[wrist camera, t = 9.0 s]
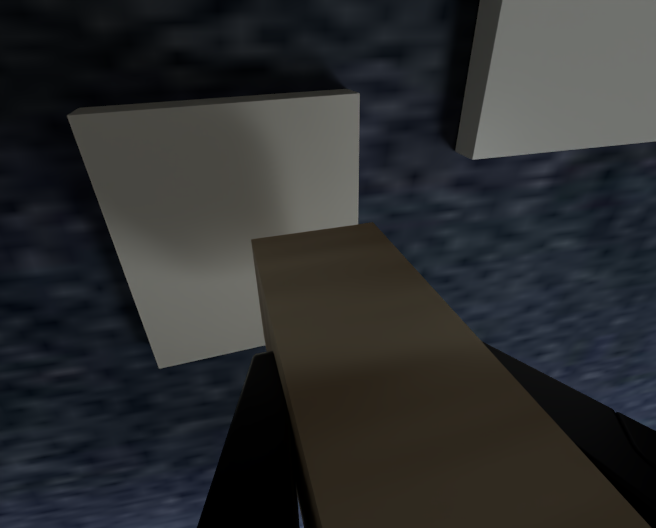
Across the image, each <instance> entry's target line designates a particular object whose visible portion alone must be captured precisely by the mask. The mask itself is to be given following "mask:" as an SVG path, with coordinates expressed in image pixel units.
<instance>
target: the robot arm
mask: <svg viewBox="0 0 656 528" xmlns="http://www.w3.org/2000/svg"><path fill="white" fill-rule="evenodd" d="M482 343H483V344H484V345H485V346H486V347H487V348H488V349H489V350H490V351H491V352H492V354H493V355H494V356H495V357H496V358H497V359H498V360H499V361H500V362H501V363H502V365H503V366H504V367H505V368H506V369H507V370H508V371H509V372H510V373H511V374H512V375H513V377H514V378H515V379H516V380H517V381H518V382H519V383H520V384H521V385H522V386H523V388H524V389H525V390H526V391H527V392H528V393H529V394H530V395H531V396H532V397H533V398H534V400H535V401H536V402H537V403H538V404H539V405H540V406H541V407H542V408H543V409H544V411H545V412H546V413H547V414H548V415H549V416H550V417H551V418H552V419H553V420H554V421H555V423H556V424H557V425H558V426H559V427H560V428H561V429H562V430H563V431H564V432H565V434H566V435H567V436H568V437H569V438H570V439H571V440H572V441H573V442H574V443H575V445H576V446H577V447H578V448H579V449H580V450H581V451H582V452H583V453H584V454H585V455H586V457H587V458H588V459H589V460H590V461H591V462H592V463H593V464H594V465H595V466H596V468H597V469H598V470H599V471H600V472H601V473H602V474H603V475H604V476H605V477H606V478H607V480H608V481H609V482H610V483H611V484H612V485H613V486H614V487H615V488H616V489H617V491H618V492H619V493H620V494H621V495H622V496H623V497H624V498H625V499H626V500H627V501H628V503H629V504H630V505H631V506H632V507H633V508H634V509H635V510H636V511H637V512H638V514H639V515H640V516H641V517H642V518H643V519H644V520H645V521H646V522H647V523H648V524H649V526H650V527H651V528H656V431H655V430H653V429H651V428H649V427H647V426H645V425H643V424H641V423H639V422H637V421H635V420H633V419H631V418H629V417H627V416H625V415H623V414H621V413H619V412H616V413H615V411H614V410H613V409H611V408H609V407H608V406H606V405H604V404H602V403H600V402H598V401H596V400H594V399H592V398H590V397H588V396H586V395H584V394H582V393H580V392H579V391H577V390H575V389H573V388H571V387H569V386H567V385H565V384H563V383H561V382H559V381H557V380H555V379H553V378H552V377H550V376H548V375H546V374H544V373H542V372H540V371H538V370H536V369H534V368H532V367H530V366H528V365H526V364H524V363H523V362H521V361H519V360H517V359H515V358H513V357H511V356H509V355H507V354H505V353H503V352H501V351H499V350H497V349H495V348H494V347H492V346H490V345H488V344H486V343H484V342H482ZM197 528H300V527H299V514H298V501H297V488H296V477H295V467H294V457H293V447H292V438H291V428H290V418H289V412H288V407H287V403H286V399H285V395H284V391H283V387H282V383H281V380H280V376H279V372H278V368H277V364H276V360H275V356H274V353H273V351H268V352H263V353H258V354H255V355H254V356H253V358H252V361H251V364H250V367H249V370H248V373H247V376H246V380H245V383H244V386H243V389H242V392H241V395H240V398H239V401H238V404H237V407H236V410H235V413H234V416H233V419H232V422H231V425H230V428H229V431H228V434H227V437H226V441H225V444H224V447H223V450H222V453H221V456H220V459H219V462H218V465H217V468H216V471H215V474H214V477H213V480H212V483H211V486H210V489H209V492H208V495H207V498H206V502H205V505H204V508H203V511H202V514H201V517H200V520H199V523H198V526H197Z"/></svg>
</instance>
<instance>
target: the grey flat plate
mask: <svg viewBox="0 0 656 528" xmlns="http://www.w3.org/2000/svg"><path fill="white" fill-rule="evenodd" d="M653 141H656V0H480V3H479V9H478V15H477V21H476V27H475V33H474V39H473V46H472V52H471V58H470V64H469V70H468V76H467V82H466V88H465V94H464V100H463V106H462V113H461V119H460V125H459V131H458V137H457V143H456V149H455V152H457V153H459V154H461V155H464V156H466V157H468V158H470V159H472V160H474V159H484V158H494V157H504V156H514V155H523V154H533V153H543V152H553V151H563V150H573V149H583V148H593V147H603V146H613V145H623V144H633V143H643V142H653Z"/></svg>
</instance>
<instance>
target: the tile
mask: <svg viewBox="0 0 656 528" xmlns="http://www.w3.org/2000/svg"><path fill="white" fill-rule="evenodd" d="M359 106H360V93H357V92H355V91H352V90H349V89H337V90H323V91H309V92H294V93H280V94H266V95H252V96H238V97H224V98H210V99H196V100H182V101H168V102H154V103H140V104H126V105H112V106H98V107H84V108H78V109H76V110H75V111H73V112H72V113H70V114H68V115H67V117H68V120H69V123H70V126H71V128H72V131H73V134H74V137H75V139H76V142H77V145H78V148H79V150H80V153H81V156H82V159H83V161H84V164H85V167H86V170H87V172H88V175H89V178H90V181H91V183H92V186H93V189H94V192H95V194H96V197H97V200H98V203H99V205H100V208H101V211H102V213H103V216H104V219H105V222H106V224H107V227H108V230H109V233H110V235H111V238H112V241H113V244H114V246H115V249H116V252H117V255H118V257H119V260H120V263H121V266H122V268H123V271H124V274H125V277H126V279H127V282H128V285H129V288H130V290H131V293H132V296H133V299H134V301H135V304H136V307H137V309H138V312H139V315H140V318H141V320H142V323H143V326H144V329H145V331H146V334H147V337H148V340H149V342H150V345H151V348H152V351H153V353H154V356H155V359H156V362H157V364H158V367H159V369H160V368H165V367H169V366H174V365H178V364H183V363H187V362H192V361H196V360H201V359H205V358H210V357H214V356H219V355H223V354H228V353H232V352H237V351H241V350H246V349H250V348H255V347H259V346H264V345H265V340H264V334H263V326H262V319H261V311H260V304H259V296H258V289H257V281H256V274H255V266H254V259H253V251H252V243H251V239H257V238H264V237H271V236H278V235H285V234H293V233H300V232H307V231H314V230H322V229H329V228H336V227H343V226H350V225H358V188H359Z"/></svg>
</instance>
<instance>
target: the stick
mask: <svg viewBox="0 0 656 528" xmlns="http://www.w3.org/2000/svg"><path fill="white" fill-rule="evenodd" d="M251 243H252V251H253V259H254V266H255V274H256V281H257V289H258V296H259V304H260V311H261V319H262V326H263V334H264V340H265V345H266V349H267V352H268V351H273V353H274V356H275V360H276V364H277V368H278V372H279V376H280V380H281V383H282V387H283V391H284V395H285V399H286V403H287V407H288V412H289V418H290V428H291V438H292V447H293V457H294V467H295V477H296V488H297V496H298V501H299V506H300V511H301V515H302V520H303V525H304V528H651V527H650V526H649V524H648V523H647V522H646V521H645V520H644V519H643V518H642V517H641V516H640V515H639V514H638V512H637V511H636V510H635V509H634V508H633V507H632V506H631V505H630V504H629V503H628V501H627V500H626V499H625V498H624V497H623V496H622V495H621V494H620V493H619V492H618V491H617V489H616V488H615V487H614V486H613V485H612V484H611V483H610V482H609V481H608V480H607V478H606V477H605V476H604V475H603V474H602V473H601V472H600V471H599V470H598V469H597V468H596V466H595V465H594V464H593V463H592V462H591V461H590V460H589V459H588V458H587V457H586V455H585V454H584V453H583V452H582V451H581V450H580V449H579V448H578V447H577V446H576V445H575V443H574V442H573V441H572V440H571V439H570V438H569V437H568V436H567V435H566V434H565V432H564V431H563V430H562V429H561V428H560V427H559V426H558V425H557V424H556V423H555V421H554V420H553V419H552V418H551V417H550V416H549V415H548V414H547V413H546V412H545V411H544V409H543V408H542V407H541V406H540V405H539V404H538V403H537V402H536V401H535V400H534V398H533V397H532V396H531V395H530V394H529V393H528V392H527V391H526V390H525V389H524V388H523V386H522V385H521V384H520V383H519V382H518V381H517V380H516V379H515V378H514V377H513V375H512V374H511V373H510V372H509V371H508V370H507V369H506V368H505V367H504V366H503V365H502V363H501V362H500V361H499V360H498V359H497V358H496V357H495V356H494V355H493V354H492V352H491V351H490V350H489V349H488V348H487V347H486V346H485V345H484V344H483V343H482V341H481V340H480V339H479V338H478V337H477V336H476V335H475V334H474V333H473V332H472V331H471V329H470V328H469V327H468V326H467V325H466V324H465V323H464V322H463V321H462V320H461V318H460V317H459V316H458V315H457V314H456V313H455V312H454V311H453V310H452V309H451V308H450V306H449V305H448V304H447V303H446V302H445V301H444V300H443V299H442V298H441V297H440V295H439V294H438V293H437V292H436V291H435V290H434V289H433V288H432V287H431V286H430V285H429V283H428V282H427V281H426V280H425V279H424V278H423V277H422V276H421V275H420V274H419V272H418V271H417V270H416V269H415V268H414V267H413V266H412V265H411V264H410V263H409V262H408V260H407V259H406V258H405V257H404V256H403V255H402V254H401V253H400V252H399V251H398V249H397V248H396V247H395V246H394V245H393V244H392V243H391V242H390V241H389V240H388V238H387V237H386V236H385V235H384V234H383V233H382V232H381V231H380V230H379V229H378V228H377V226H376V225H375V224H374V223H373V222H372V223H365V224H358V225H350V226H343V227H336V228H329V229H322V230H314V231H307V232H300V233H293V234H285V235H278V236H271V237H264V238H257V239H251Z"/></svg>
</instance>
